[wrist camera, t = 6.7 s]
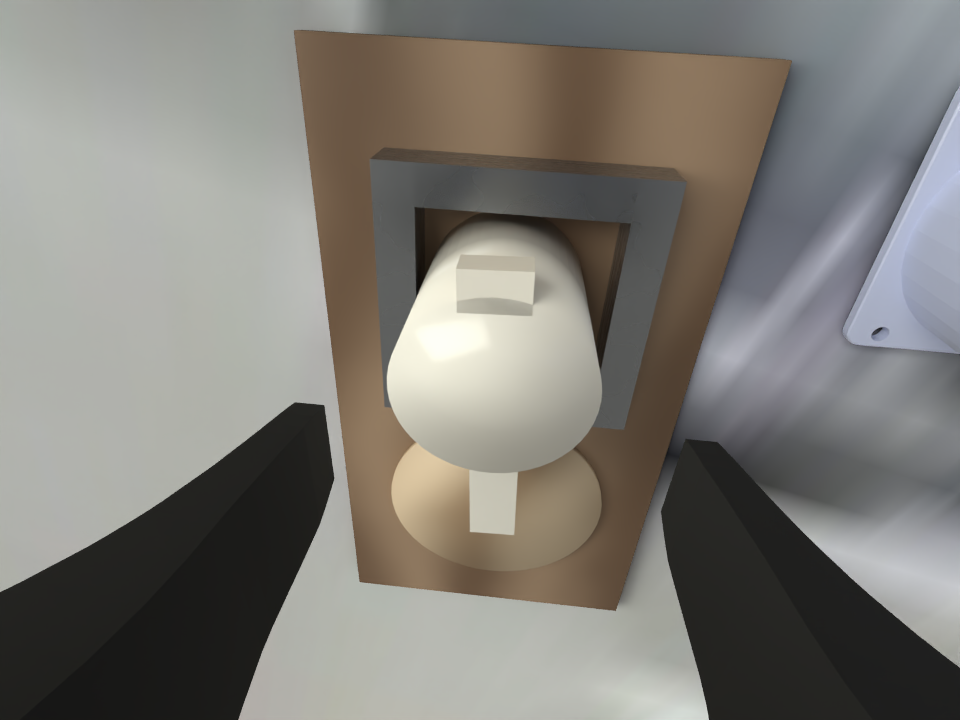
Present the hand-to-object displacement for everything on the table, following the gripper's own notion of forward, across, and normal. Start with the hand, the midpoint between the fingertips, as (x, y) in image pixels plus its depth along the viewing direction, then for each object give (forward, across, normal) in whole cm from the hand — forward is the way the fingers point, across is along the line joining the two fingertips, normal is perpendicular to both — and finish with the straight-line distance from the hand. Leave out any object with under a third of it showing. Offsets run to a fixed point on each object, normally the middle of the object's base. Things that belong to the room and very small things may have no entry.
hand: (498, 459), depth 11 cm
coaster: (+8, 0, +10) cm, 13 cm away
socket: (+8, 0, 0) cm, 8 cm away
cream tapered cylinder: (+8, 0, +1) cm, 8 cm away
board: (+9, 0, +5) cm, 10 cm away
